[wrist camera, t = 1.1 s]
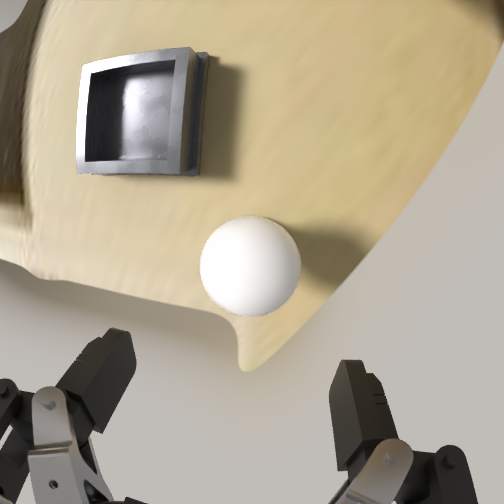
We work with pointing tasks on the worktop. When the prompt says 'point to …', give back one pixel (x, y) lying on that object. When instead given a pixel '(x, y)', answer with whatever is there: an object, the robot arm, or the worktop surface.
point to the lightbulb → (250, 266)
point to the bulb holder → (142, 113)
